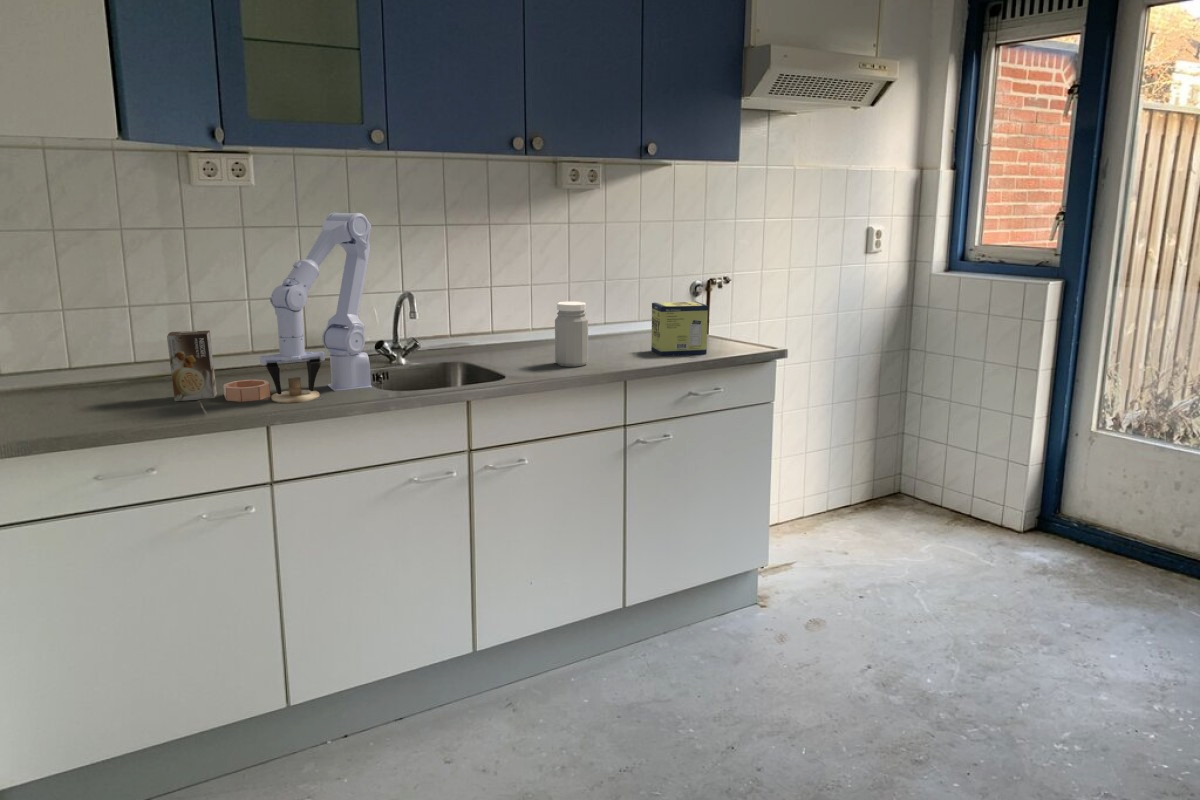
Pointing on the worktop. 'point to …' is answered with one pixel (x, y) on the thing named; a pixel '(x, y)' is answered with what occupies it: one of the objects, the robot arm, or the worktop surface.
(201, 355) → the coffee box
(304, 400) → the lid
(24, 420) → the worktop surface
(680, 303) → the protein box
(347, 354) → the robot arm
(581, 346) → the jar
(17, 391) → the worktop surface
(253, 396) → the bowl
